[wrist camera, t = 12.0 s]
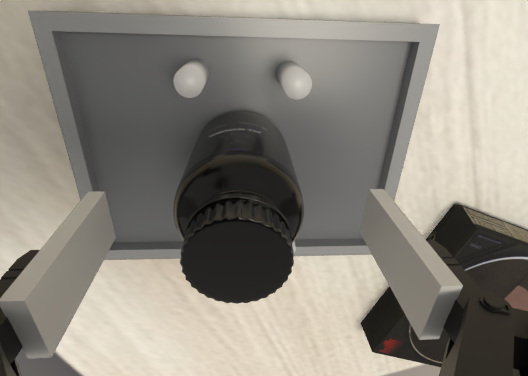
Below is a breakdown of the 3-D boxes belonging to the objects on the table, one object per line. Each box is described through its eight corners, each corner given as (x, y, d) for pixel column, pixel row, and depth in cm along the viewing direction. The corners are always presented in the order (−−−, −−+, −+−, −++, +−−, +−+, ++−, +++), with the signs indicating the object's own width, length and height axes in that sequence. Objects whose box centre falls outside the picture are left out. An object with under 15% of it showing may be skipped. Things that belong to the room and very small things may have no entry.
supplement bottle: (245, 87, 21) (250, 156, 11) (304, 158, 24) (353, 268, 14) (174, 149, 23) (119, 260, 13) (236, 209, 26) (233, 340, 15)
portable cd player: (576, 245, 33) (616, 272, 30) (470, 346, 40) (492, 378, 37) (453, 198, 29) (482, 223, 26) (359, 319, 36) (372, 352, 33)
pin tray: (108, 241, 28) (81, 287, 24) (51, 11, 20) (-9, 9, 15) (370, 237, 30) (394, 279, 25) (419, 23, 22) (470, 25, 17)
